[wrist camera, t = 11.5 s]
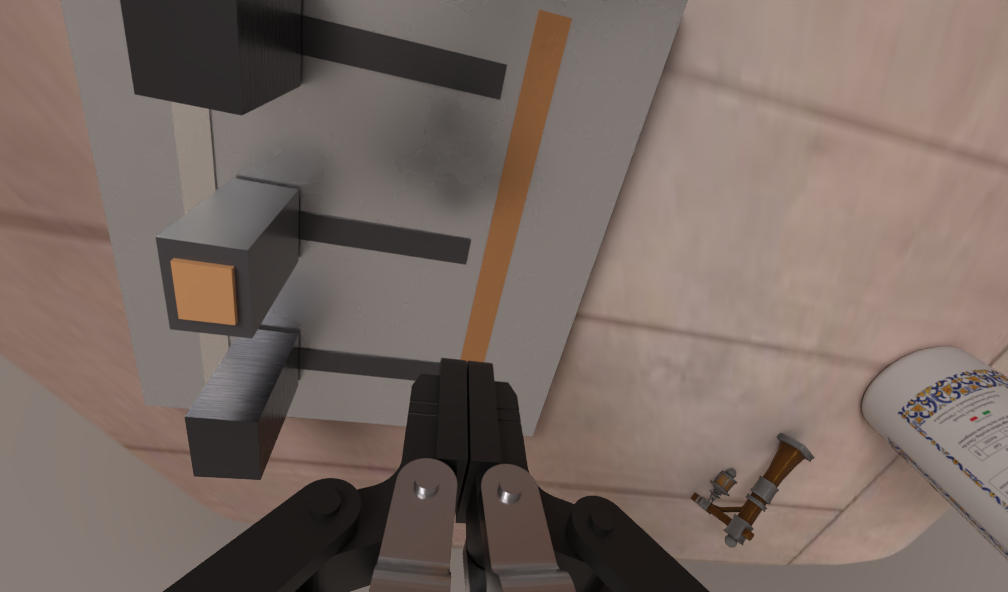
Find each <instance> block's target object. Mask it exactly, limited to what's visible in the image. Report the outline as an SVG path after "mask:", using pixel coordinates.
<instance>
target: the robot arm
mask: <svg viewBox="0 0 1008 592" xmlns="http://www.w3.org/2000/svg"><path fill="white" fill-rule="evenodd" d="M455 513H456V523H466V540H465V544H464V548H463V567H464V579H465V592H709V591H708V590H707V589H706V588H705V587H704V586H703V585H702V584H701V583H700V582H698V580H696V579H695V578H694V577H693V576H692V575H691V574H690V573H689V572H688V571H687V570H686V569H685V568H683V567H682V566H681V565H680V564H679V563H678V562H677V561H676V560H675V559H674V558H673V557H672V556H671V555H670V554H668V553H667V552H666V551H665V550H664V549H663V548H662V547H661V546H660V545H659V544H658V543H657V542H656V541H654V540H653V539H652V538H651V537H650V536H649V535H648V534H647V533H646V532H645V531H644V530H643V529H642V528H640V527H639V526H638V525H637V524H636V523H635V522H634V521H633V520H632V519H631V518H630V517H629V516H628V515H626V514H625V513H624V512H623V511H622V510H621V509H620V508H619V507H618V506H617V505H615V504H614V503H613V502H611V501H609V500H607V499H605V498H602V497H599V496H586V497H583V498H581V499H579V500H578V501H577V502H576V503H575V504H572V503H570V502H567V501H564V500H562V499H559V498H556V497H554V496H552V495H549V494H548V493H546V492H545V491H543V490H542V489H541V488H540V487H539V486H538V485H537V483H536V481H535V480H534V478H533V477H532V476H531V475H530V473H529V471H528V467H527V460H526V453H525V446H524V439H523V432H522V425H521V418H520V413H519V405H518V398H517V395H516V393H515V392H514V390H513V389H512V387H511V386H510V384H509V383H508V382H499V381H495V380H494V369H493V364H492V363H487V362H478V361H469V360H468V361H467V363H466V360H459V359H450V358H441V361H440V366H439V372H438V375H430V374H420V376H419V377H418V378H417V379H416V381H415V382H414V383H413V385H412V388H411V395H410V403H409V410H408V417H407V425H406V432H405V440H404V448H403V455H402V461H401V464H400V467H399V468H398V470H397V471H396V472H395V474H394V475H393V476H391V477H390V478H389V479H387V480H386V481H384V482H382V483H380V484H377V485H374V486H370V487H366V488H362V489H358V490H356V488H355V487H354V486H353V485H351V484H350V483H348V482H346V481H344V480H341V479H335V478H326V479H321V480H317V481H314V482H312V483H310V484H308V485H307V486H305V487H304V488H302V489H301V490H300V491H298V492H297V493H296V494H294V495H293V496H292V497H290V498H289V499H288V500H286V501H285V502H283V503H282V504H281V505H279V506H278V507H277V508H275V509H274V510H273V511H271V512H270V513H269V514H267V515H266V516H265V517H263V518H262V519H260V520H259V521H258V522H256V523H255V524H254V525H252V526H251V527H250V528H249V529H247V530H246V531H244V532H243V533H242V534H241V535H239V536H237V537H236V538H235V539H233V540H232V541H231V542H230V543H228V544H227V545H225V546H224V547H223V548H221V549H220V550H219V551H217V552H216V553H215V554H213V555H212V556H210V557H209V558H208V559H206V560H205V561H204V562H202V563H201V564H200V565H198V566H197V567H196V568H194V569H193V570H192V571H190V572H189V573H187V574H186V575H185V576H184V577H182V578H181V579H179V580H178V581H177V582H175V583H174V584H173V585H171V586H170V587H169V588H167V589H166V590H164V591H163V592H350V591H353V590H356V589H359V588H362V587H365V586H369V585H370V588H369V592H450V588H451V572H450V558H451V547H452V537H453V526H454V517H455Z"/></svg>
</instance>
